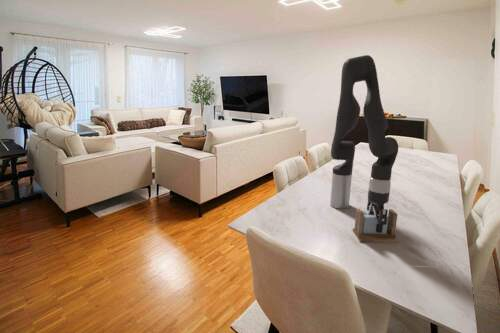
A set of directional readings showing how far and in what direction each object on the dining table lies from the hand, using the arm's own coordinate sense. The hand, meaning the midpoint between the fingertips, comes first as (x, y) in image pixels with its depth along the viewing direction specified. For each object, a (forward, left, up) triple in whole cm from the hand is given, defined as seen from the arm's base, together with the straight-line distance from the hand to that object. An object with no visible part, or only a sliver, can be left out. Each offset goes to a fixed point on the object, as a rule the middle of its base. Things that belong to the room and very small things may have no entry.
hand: (374, 227), depth 117 cm
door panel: (0, 0, -3) cm, 3 cm away
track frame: (0, 0, -4) cm, 4 cm away
